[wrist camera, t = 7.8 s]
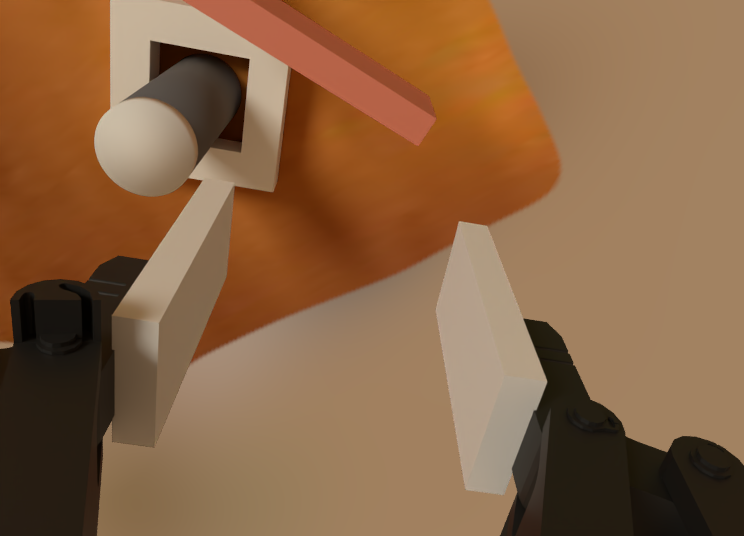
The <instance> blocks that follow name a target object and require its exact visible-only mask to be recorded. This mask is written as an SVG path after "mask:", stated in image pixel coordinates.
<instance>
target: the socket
mask: <svg viewBox="0 0 744 536" xmlns="http://www.w3.org/2000/svg"><path fill="white" fill-rule="evenodd" d="M160 42H162V43H167V44H172V45H178V46H183V47H188V48H194V49H199V50H205V51H210V52H215V53H221V54H226V55H231V56H237V57H242V58H247V59H250V63H249V73H248V84H247V95H246V106H245V117H244V127H243V138H242V142H237V141H232V140H226V139H220V138H217V139H216V141H215V142H214V143H213V145H212V146H211V147H210V149H209V150H208V152H207V153H206V154H205V156H204V157H203V158H202V160H201V161H200V162H199V164H198V165H197V166H196V168H195V169H194V170H193V172H192V173H191V175H190V176H189V177H188V178H191V179H197V180H204V178H209V179H215V180H221V181H227V182H233V183H235V186H238V187H244V188H250V189H256V190H262V191H268V192H274V189H275V186H276V184H277V180H278V172H279V164H280V156H281V147H282V139H283V131H284V123H285V115H286V106H287V98H288V90H289V82H290V74H291V67H289V66H288V65H286V64H284V63H283V62H281V61H279V60H278V59H276V58H275V57H273V56H271V55H270V54H268V53H267V52H265V51H263V50H262V49H260V48H259V47H257V46H255V45H254V44H252V43H250V42H249V41H247V40H246V39H244V38H242V37H241V36H239V35H238V34H236V33H234V32H233V31H231V30H230V29H228V28H226V27H225V26H223V25H221V24H220V23H218V22H217V21H215V20H213V19H212V18H210V17H209V16H207V15H205V14H204V13H202V12H200V11H199V10H197V9H196V8H194V7H192V6H191V5H189V4H188V3H186V2H184V1H183V0H110V96H111V108H113V107H114V106H116V105H117V104H119V103H120V102H121V101H123V100H124V99H126V98H127V97H129V96H130V95H132V94H133V93H135V92H136V91H137V90H139V89H140V88H142V87H143V86H145V85H146V84H148V83H149V82H150V81H152V80H153V79H155V78H156V77H158V76H159V67H160Z"/></svg>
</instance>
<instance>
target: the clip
mask: <svg viewBox="0 0 744 536" xmlns="http://www.w3.org/2000/svg"><path fill="white" fill-rule="evenodd" d="M183 1H184V2H186V3H188V4H189V5H191V6H192V7H194V8H196V9H197V10H199V11H200V12H202V13H204V14H205V15H207V16H209V17H210V18H212V19H213V20H215V21H217V22H218V23H220V24H221V25H223V26H225V27H226V28H228V29H230V30H231V31H233V32H234V33H236V34H238V35H239V36H241V37H242V38H244V39H246V40H247V41H249V42H250V43H252V44H254V45H255V46H257V47H259V48H260V49H262V50H263V51H265V52H267V53H268V54H270V55H271V56H273V57H275V58H276V59H278V60H279V61H281V62H283V63H284V64H286V65H288V66H289V67H291V68H292V69H294V70H296V71H297V72H299V73H300V74H302V75H304V76H305V77H307V78H309V79H310V80H312V81H313V82H315V83H317V84H318V85H320V86H321V87H323V88H325V89H326V90H328V91H329V92H331V93H333V94H334V95H336V96H338V97H339V98H341V99H342V100H344V101H346V102H347V103H349V104H350V105H352V106H354V107H355V108H357V109H358V110H360V111H362V112H363V113H365V114H367V115H368V116H370V117H371V118H373V119H375V120H376V121H378V122H379V123H381V124H383V125H384V126H386V127H388V128H389V129H391V130H392V131H394V132H396V133H397V134H399V135H400V136H402V137H404V138H405V139H407V140H408V141H410V142H412V143H413V144H415V145H417V146H419V144H420V143H421V141H422V140H423V138H424V137H425V135H426V134H427V132H428V131H429V130H430V128H431V127H432V125H433V124H434V122H435V121H436V119H437V118H436V116H435V113H434V110H433V107H432V104H431V101H430V98H429V96H428V95H427V94H425V93H423V92H422V91H420V90H419V89H417V88H416V87H414V86H413V85H411V84H410V83H408V82H406V81H405V80H403V79H402V78H400V77H399V76H397V75H396V74H394V73H393V72H391V71H389V70H388V69H386V68H385V67H383V66H382V65H380V64H379V63H377V62H375V61H374V60H372V59H371V58H369V57H368V56H366V55H365V54H363V53H362V52H360V51H358V50H357V49H355V48H354V47H352V46H351V45H349V44H348V43H346V42H345V41H343V40H341V39H340V38H338V37H337V36H335V35H334V34H332V33H331V32H329V31H328V30H326V29H324V28H323V27H321V26H320V25H318V24H317V23H315V22H314V21H312V20H310V19H309V18H307V17H306V16H304V15H303V14H301V13H300V12H298V11H297V10H295V9H293V8H292V7H290V6H289V5H287V4H286V3H284V2H283V1H281V0H183Z"/></svg>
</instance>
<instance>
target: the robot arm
mask: <svg viewBox="0 0 744 536" xmlns="http://www.w3.org/2000/svg"><path fill="white" fill-rule="evenodd" d="M234 188H235V183H233V182H227V181H221V180H215V179H209V178H204V180H203V181H202V183H201V184H200V186H199V187H198V189H197V190H196V192H195V193H194V195H193V196H192V197H191V199H190V200H189V202H188V203H187V205H186V206H185V208H184V209H183V211H182V212H181V214H180V215H179V217H178V218H177V220H176V221H175V223H174V224H173V226H172V227H171V229H170V230H169V232H168V233H167V235H166V236H165V237H164V239H163V240H162V242H161V243H160V245H159V246H158V248H157V249H156V251H155V252H154V254H153V255H152V257H151V258H150V260H143V259H136V258H130V257H124V256H117V257H115V258H113V259H111V260H109V261H107V262H105V263H103V264H101V265H100V266H99V267H98V268H97V269H96V271H95V272H94V273H93V274H92V276H91V277H90V278H89V281H87V282H86V283H85V284H84V283H82V282H79V281H72V280H63V279H59V280H46V281H41V282H37V283H34V284H30V285H27V286H26V287H24V288H22V289H20V290H18V291H17V292H16V293H15V294H14V296H13V297H12V298H11V300H10V304H11V315H12V327H13V338H14V344H13V347H10V348H5V349H0V536H97V525H98V510H99V498H100V486H101V472H102V460H103V436H104V434H105V432H106V430H107V428H108V427H109V425H110V423H111V421H112V442H117V443H125V444H132V445H139V446H146V447H155V445H156V443H157V440H158V438H159V435H160V433H161V431H162V428H163V426H164V424H165V421H166V419H167V416H168V414H169V412H170V409H171V407H172V404H173V402H174V400H175V398H176V395H177V393H178V390H179V388H180V385H181V383H182V381H183V378H184V376H185V374H186V371H187V369H188V367H189V364H190V362H191V360H192V357H193V355H194V352H195V350H196V348H197V345H198V343H199V341H200V338H201V336H202V333H203V331H204V329H205V326H206V324H207V322H208V319H209V317H210V314H211V312H212V310H213V307H214V305H215V303H216V300H217V298H218V295H219V293H220V291H221V288H222V286H223V284H224V281H225V279H226V276H227V265H228V254H229V243H230V232H231V221H232V210H233V199H234ZM436 315H437V321H438V328H439V334H440V339H441V346H442V352H443V358H444V364H445V370H446V376H447V382H448V388H449V394H450V400H451V406H452V413H453V419H454V424H455V431H456V437H457V442H458V448H459V455H460V461H461V467H462V472H463V479H464V485H465V490H470V491H477V492H485V493H492V494H499V495H504V494H505V491H506V488H507V486H508V483H509V481H510V478H511V475H512V473H513V476H514V480H515V484H516V488H517V495H516V497H515V500H514V502H513V505H512V507H511V510H510V512H509V515H508V517H507V520H506V522H505V525H504V528H503V530H502V533H501V535H500V536H744V465H743V464H742V463H741V462H740V460H739V459H738V458H736V457H735V456H734V455H732V454H731V453H730V452H728V451H727V450H726V449H725V448H723V447H721V446H720V445H717V444H716V443H713V442H711V441H708V440H704V439H701V438H698V437H690V436H682V437H680V438H677V439H675V440H674V441H673V443H672V445H671V447H670V449H669V451H668V452H664V451H661V450H659V449H656V448H653V447H651V446H648V445H645V444H642V443H640V442H637V441H635V440H632V439H630V438H628V437H626V436H625V431H624V428H623V425H622V423H621V421H620V420H619V419H618V418H617V417H616V416H615V414H614V413H613V412H611V411H610V410H608V409H607V408H606V407H604V406H603V405H601V404H599V403H597V402H595V401H592V400H590V397H589V395H588V393H587V391H586V389H585V387H584V384H583V382H582V380H581V378H580V376H579V374H578V371H577V369H576V367H575V366H573V361H572V359H571V356H570V354H568V350H567V348H566V345H565V343H564V341H563V339H562V337H561V336H560V335H559V334H558V333H557V332H556V331H555V330H554V329H553V328H552V327H551V326H550V325H549V324H548V323H547V322H542V321H535V320H529V319H523V317H522V315H521V312H520V310H519V307H518V304H517V302H516V299H515V297H514V294H513V291H512V289H511V286H510V283H509V281H508V278H507V276H506V273H505V271H504V268H503V265H502V263H501V260H500V258H499V255H498V253H497V250H496V247H495V245H494V242H493V239H492V237H491V234H490V232H489V229H488V226H484V225H478V224H472V223H466V222H461V221H459V224H458V227H457V231H456V235H455V239H454V242H453V246H452V250H451V254H450V258H449V261H448V265H447V269H446V273H445V277H444V280H443V284H442V288H441V291H440V295H439V299H438V302H437V306H436Z"/></svg>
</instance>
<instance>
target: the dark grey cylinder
mask: <svg viewBox="0 0 744 536" xmlns="http://www.w3.org/2000/svg"><path fill="white" fill-rule="evenodd" d="M240 103H241V87H240V83H239V80H238V78H237V76H236V74H235V73H234V71H233V70H232V69H231V67H230V66H229V65H228V64H226V63H225V62H224V61H222V60H221V59H219V58H217V57H215V56H212V55H208V54H194V55H191V56H188V57H186V58H184V59H182V60H181V61H180V62H178V63H177V64H175V65H174V66H172V67H171V68H169V69H168V70H166V71H165V72H164V73H162V74H161V75H159V76H158V77H156V78H155V79H153V80H152V81H150V82H149V83H148V84H146V85H145V86H143V87H142V88H140V89H139V90H137V91H136V92H135V93H133V94H132V95H130V96H129V97H127V98H126V99H124V100H123V101H121V102H120V103H119V104H117V105H116V106H114V107H113V108H111V109H110V110H108V111H107V112H106V113H105V114H104V115H103V117H102V118H101V119H100V121H99V123H98V125H97V128H96V131H95V138H94V145H95V151H96V155H97V158H98V161H99V163H100V165H101V167H102V168H103V170H104V171H105V173H106V174H107V175H108V176H109V177H110V178H111V179H112V180H113V181H114V182H115V183H116V184H118V185H119V186H120V187H122V188H124V189H125V190H127V191H129V192H132V193H135V194H138V195H142V196H162V195H166V194H169V193H171V192H173V191H175V190H176V189H178V188H179V187H180V186H182V185H183V183H184V182H185V181H186V180H187V179H188V177H189V176H190V175H191V173H192V172H193V170H194V169H195V168H196V166H197V165H198V164H199V162H200V161H201V160H202V158H203V157H204V156H205V154H206V153H207V152H208V150H209V149H210V147H211V146H212V145H213V143H214V142H215V141H216V139H217V138H218V137H219V135H220V134H221V133H222V131H223V130H224V129H225V127H226V126H227V124H228V123H229V122H230V120H231V119H232V118H233V116H234V115H235V114H236V112H237V110H238V108H239V106H240Z"/></svg>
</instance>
